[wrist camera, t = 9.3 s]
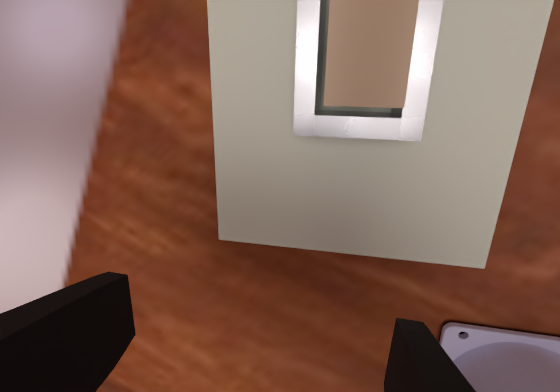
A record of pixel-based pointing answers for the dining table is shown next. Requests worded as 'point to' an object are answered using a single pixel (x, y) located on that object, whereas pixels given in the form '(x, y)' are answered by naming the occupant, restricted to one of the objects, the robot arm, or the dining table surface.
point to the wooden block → (369, 52)
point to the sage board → (371, 152)
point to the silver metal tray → (361, 123)
